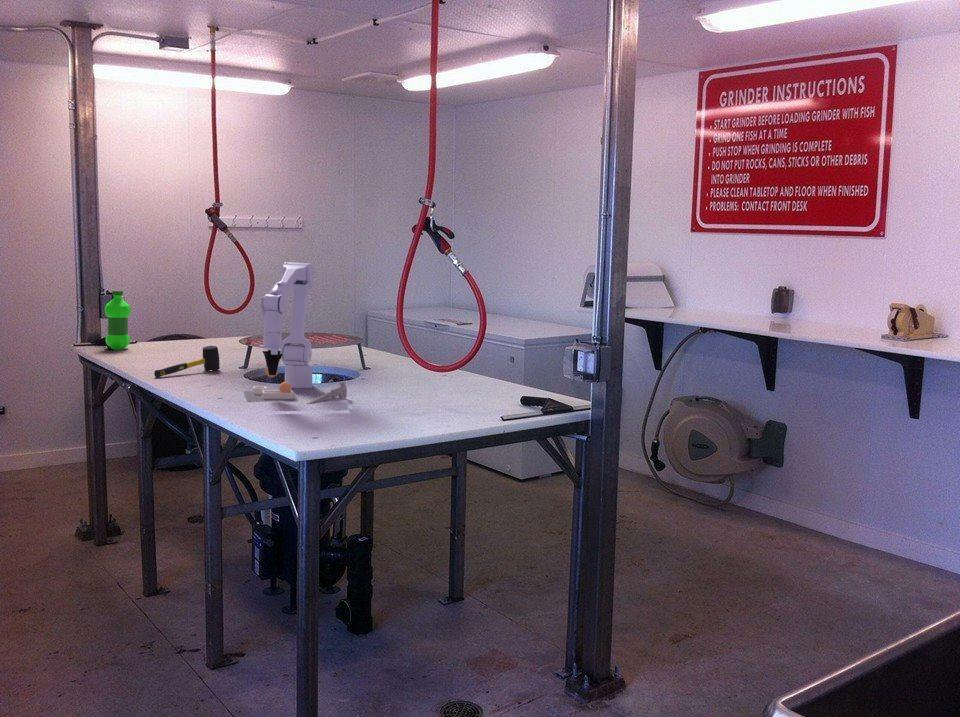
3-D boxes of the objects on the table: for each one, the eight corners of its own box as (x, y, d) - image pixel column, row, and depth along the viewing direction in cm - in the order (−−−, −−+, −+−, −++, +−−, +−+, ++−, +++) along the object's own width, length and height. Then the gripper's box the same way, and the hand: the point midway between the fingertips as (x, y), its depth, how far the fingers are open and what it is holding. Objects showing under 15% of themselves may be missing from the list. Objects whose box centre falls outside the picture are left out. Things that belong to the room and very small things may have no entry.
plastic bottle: (135, 349, 381) (135, 291, 378) (112, 350, 373) (112, 291, 370) (122, 346, 388) (122, 289, 384) (100, 348, 379) (99, 290, 376)
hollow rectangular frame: (291, 396, 290) (292, 390, 290) (293, 398, 286) (293, 392, 286) (261, 396, 287) (262, 390, 287) (263, 399, 283) (263, 392, 283)
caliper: (343, 399, 297) (344, 380, 296) (346, 399, 296) (347, 381, 295) (303, 407, 279) (304, 388, 278) (306, 408, 278) (307, 388, 278)
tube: (265, 392, 295) (265, 386, 295) (266, 394, 291) (267, 388, 291) (252, 392, 294) (253, 386, 293) (253, 394, 290) (253, 388, 289)
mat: (292, 393, 300) (292, 390, 300) (298, 404, 283) (298, 401, 283) (243, 394, 295) (243, 391, 294) (247, 404, 278) (247, 401, 278)
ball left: (290, 392, 290) (291, 380, 289) (292, 395, 286) (292, 382, 285) (278, 392, 288) (278, 380, 288) (279, 395, 284) (279, 382, 284)
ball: (277, 376, 287) (277, 364, 287) (278, 378, 284) (278, 365, 283) (264, 376, 286) (264, 363, 286) (265, 378, 282) (265, 365, 282)
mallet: (161, 379, 314) (161, 352, 313) (150, 377, 317) (150, 351, 316) (223, 371, 339) (223, 346, 338) (211, 369, 342) (212, 344, 341)
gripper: (258, 329, 288) (257, 370, 290) (261, 334, 275) (260, 377, 277) (280, 329, 291) (279, 370, 292) (284, 334, 277) (283, 377, 279)
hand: (271, 373), depth 285 cm, fingers closed on ball, 4 cm apart
